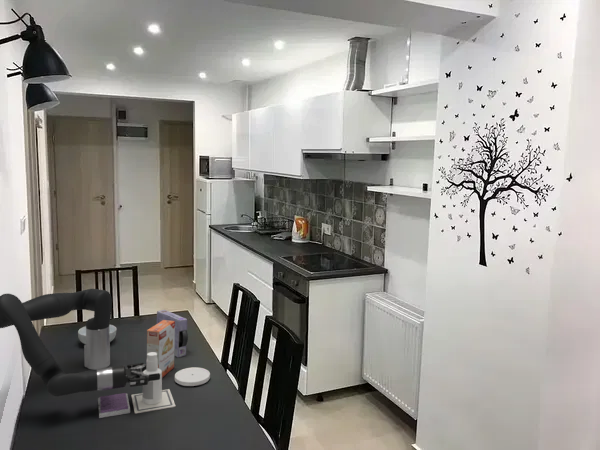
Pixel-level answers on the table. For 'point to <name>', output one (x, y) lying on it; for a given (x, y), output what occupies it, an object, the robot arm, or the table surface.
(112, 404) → the ink pad
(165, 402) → the marked sheet
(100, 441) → the table surface
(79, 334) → the cereal bowl
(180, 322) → the cake pan box
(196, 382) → the plastic lid
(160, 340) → the cracker box
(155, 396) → the spray bottle
